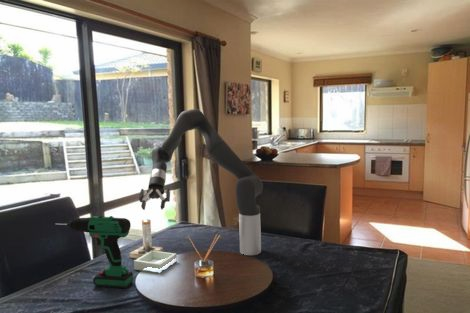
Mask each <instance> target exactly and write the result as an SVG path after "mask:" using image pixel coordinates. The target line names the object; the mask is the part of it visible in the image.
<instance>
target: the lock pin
mask: <svg viewBox="0 0 470 313" xmlns="http://www.w3.org/2000/svg"><path fill="white" fill-rule="evenodd" d="M151 222H152V220H151V219H148V218H147V219H146V218H145V219H142V220H141V228H142V229H141V230H142V246H143V250H145V252H150V251H152V246H153V244H152V243H153V242H152V225H151Z"/></svg>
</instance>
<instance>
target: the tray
mask: <svg viewBox="0 0 470 313" xmlns="http://www.w3.org/2000/svg"><path fill="white" fill-rule="evenodd" d="M165 258H166V259H165ZM175 258H177V253H175V252H174V253H173V252H165V251H163V252H159V251H150V252H148V253H147V254H145V255H143V256H141V257H140V258H138V259H137V258H135V260H133V267H134V268H133V269H134V270H136V271H141V270H143V269H144V268H147V267H152V268H158V269H160V268H162V267H163V266H165V265H166V264H168V263H169V262H171V261H172V260H173V259H175ZM161 259H165V260H163V261H162V262H160V263H154V262H156V261H158V260H161Z"/></svg>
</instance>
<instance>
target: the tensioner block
mask: <svg viewBox="0 0 470 313" xmlns="http://www.w3.org/2000/svg"><path fill="white" fill-rule="evenodd" d="M152 251H159V252H164V251H163V247H160V246H153V245H152ZM147 253H148V252H145V250H143V245H142V246H140V247H138V248H137V249H135V250H133V251H130V252H129V258H130V259H131V258H132V259H138V258H140V257H141V256H143V255H145V254H147Z"/></svg>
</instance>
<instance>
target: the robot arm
mask: <svg viewBox="0 0 470 313" xmlns="http://www.w3.org/2000/svg"><path fill="white" fill-rule="evenodd" d="M196 129H197V131H199V132H200V133H201V135H202V136H203V138H204V142H205V147H206V151H207V154H208V155H209V156H210V157H211V158H212V160H213V161H214V162H215V164H217V165H218V166H220V167H221V168H223V169H224V170H226V171H227V172H229V173H231V174H232V175H233V176H234V177H236V179H237V182H236V184H235V199H236V207H237V210H238V221H239V222H238V227H239V228H238V229H239V233H238V234H239V235H238V236H239V253H240V254H241V255H243V254H244V255H243V256H257V255H259V254H261V253H262V237H261V235H262V234H261V233H262V232H261V231H262V230H261V228H262V227H261V206H259V205H258V204H257V200H256V197H257V196H258V195H260V194H261V193H262V192H263V191H264V190H263V189H264V187H263V186H264V184H263V182H262V180H261V178H260V177H259V176H258V175H257V174H256V173H255V172H253V170H252V169H250V168H249V167H248V166H247V165H246V164H245V163H244V162H243V161H242V159H241V158H240V157H239V156H238V155H237V154H236V152H235V151H234V150H233V149H232V148H231V147H230V146H229V144H228V143H227V142H226V141H225V139H223V138H222V137H221V136H220V134H219V133H218V132H217V130H216V129H215V128H214V127H213V126H212V124H211V123H210V121H209V119H207V117H206V116H205V115H204V113H203V112H202V111H201V110H200V109H198V108H192V109H187V110H183V111H182V112H180V114H179V115H178V116H177V119H176V121H175V123H174V125H173V127H172V129H171V131H170V132H169V134H168V135H167V137H165V139H164V140H163V142H162V143H161V146H159V145H155V146H154V147H153V148H152V150H151V160H152V168H151V173H150V175H149V183H148V188H147V189H143V188H142V189H141V190H140V192H139V195H138V200H139V201H138V202H140V203H141V205H140V206H141V209H142V210H143V211H144V210H146V205H147V202H148V201H150V200H151V199H152V200H154V199H157V200H158V199H160V210H163V209H165V206H166V202H168V203H169V202H170V201H171V200H170V199H171V191H170V188H166V189H165V185H166V178H167V170H168V166H167V163H169V162H171V160H172V157H173V154H174V153H175V151H176V149H177V148H178V147H179V145H180V144H181V142H182V137H183V135H184V134H186V133H187V132H188V131H193V130H196ZM164 194H165V197H164Z"/></svg>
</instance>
